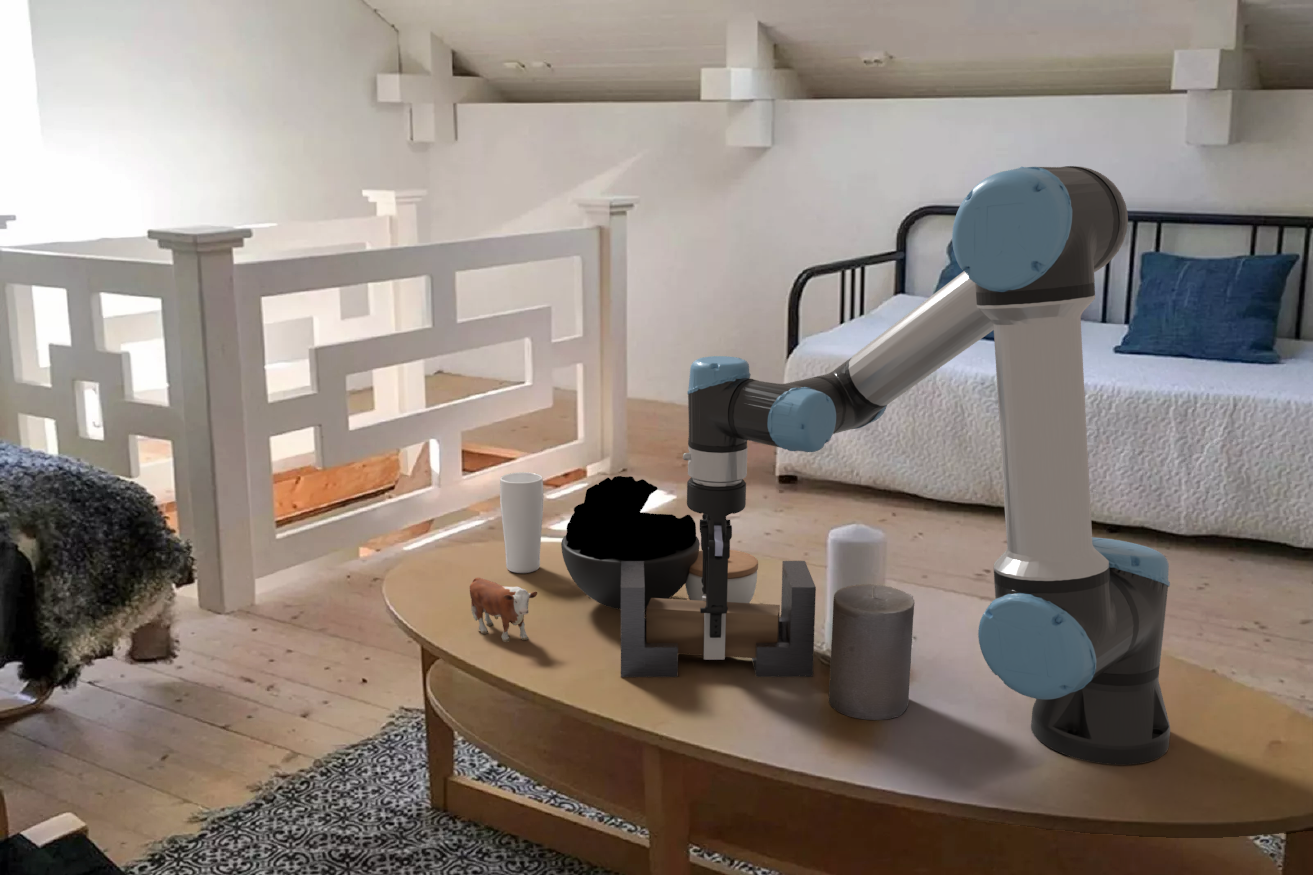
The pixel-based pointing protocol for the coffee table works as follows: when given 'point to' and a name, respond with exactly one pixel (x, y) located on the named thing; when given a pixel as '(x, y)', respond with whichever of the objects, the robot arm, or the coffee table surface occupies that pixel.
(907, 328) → the robot arm
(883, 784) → the coffee table surface
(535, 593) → the bull figurine
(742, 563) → the lidded jar
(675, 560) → the dark grey bowl
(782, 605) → the grey stand
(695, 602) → the rail
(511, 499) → the drinking glass
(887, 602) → the pillar candle
